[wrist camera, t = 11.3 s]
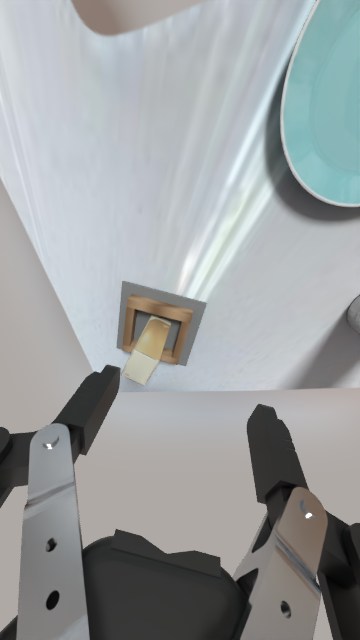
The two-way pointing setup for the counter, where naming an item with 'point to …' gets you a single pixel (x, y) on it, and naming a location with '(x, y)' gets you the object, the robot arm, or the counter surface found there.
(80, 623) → the robot arm
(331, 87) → the plate
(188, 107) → the counter surface
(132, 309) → the collar
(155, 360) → the skincare box
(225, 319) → the counter surface
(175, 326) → the mat
